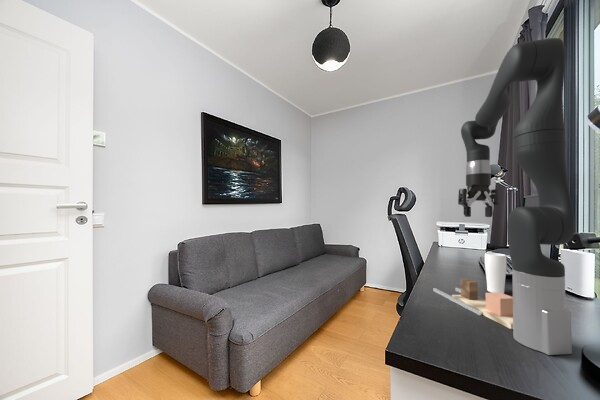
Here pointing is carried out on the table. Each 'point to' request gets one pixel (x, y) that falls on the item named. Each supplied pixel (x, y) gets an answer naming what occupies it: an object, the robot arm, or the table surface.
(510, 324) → the birch strip
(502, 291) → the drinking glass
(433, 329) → the table surface
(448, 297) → the guide rails
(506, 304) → the terracotta block
